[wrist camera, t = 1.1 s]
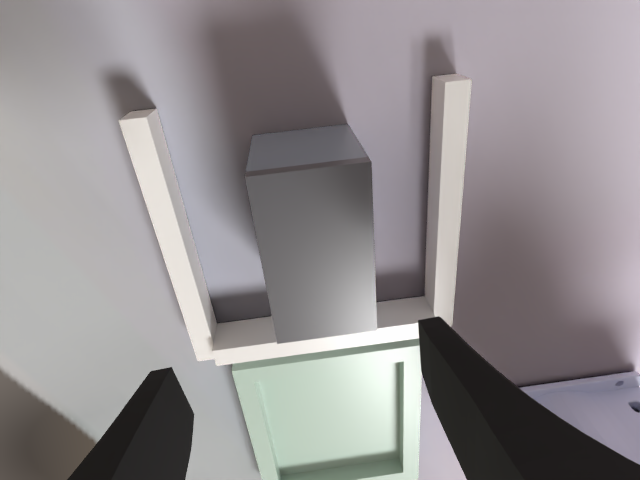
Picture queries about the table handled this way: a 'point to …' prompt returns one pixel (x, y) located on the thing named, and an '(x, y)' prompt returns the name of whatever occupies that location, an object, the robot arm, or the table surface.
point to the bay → (259, 334)
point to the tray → (335, 413)
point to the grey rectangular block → (314, 231)
